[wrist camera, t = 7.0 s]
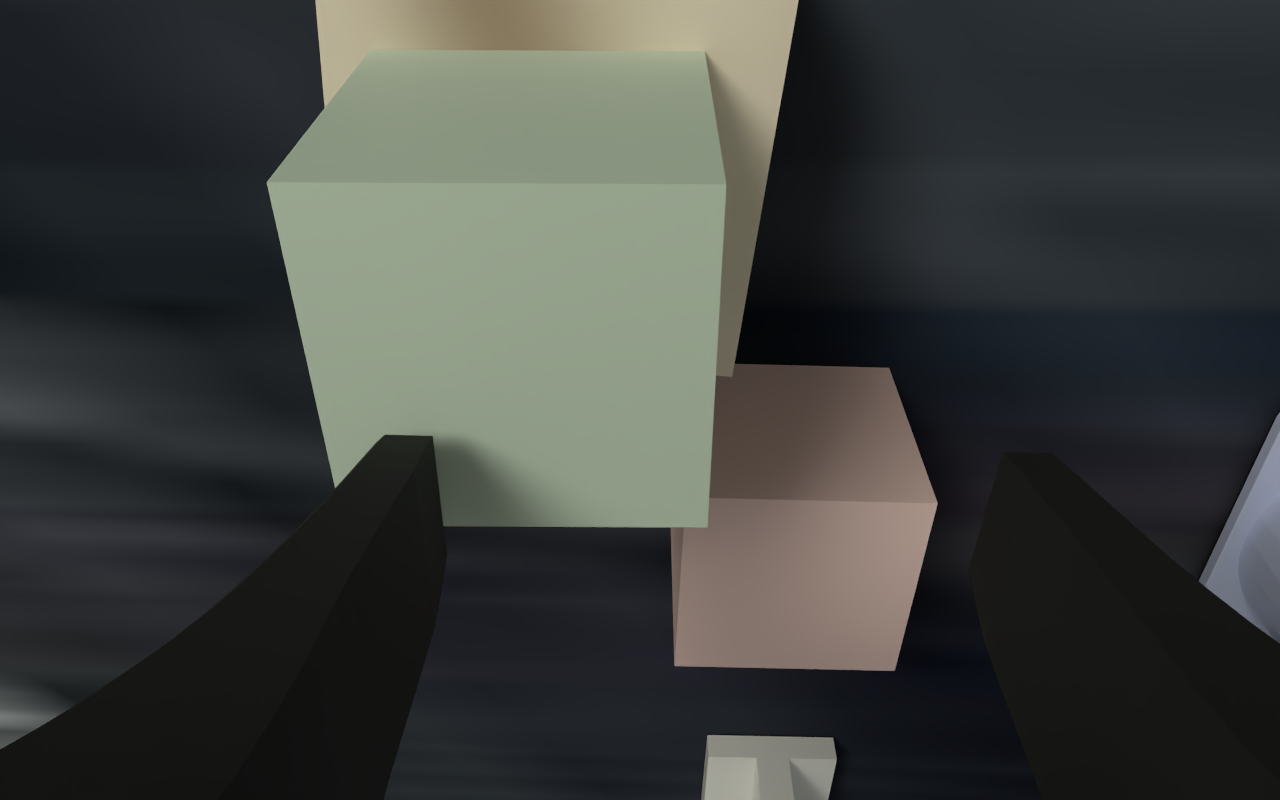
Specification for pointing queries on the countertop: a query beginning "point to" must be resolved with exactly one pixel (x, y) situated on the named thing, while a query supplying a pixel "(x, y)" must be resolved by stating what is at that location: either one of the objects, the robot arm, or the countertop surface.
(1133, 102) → the countertop surface
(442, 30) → the base block
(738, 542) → the pink cube
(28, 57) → the countertop surface
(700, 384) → the sage cube
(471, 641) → the countertop surface
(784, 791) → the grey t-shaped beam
